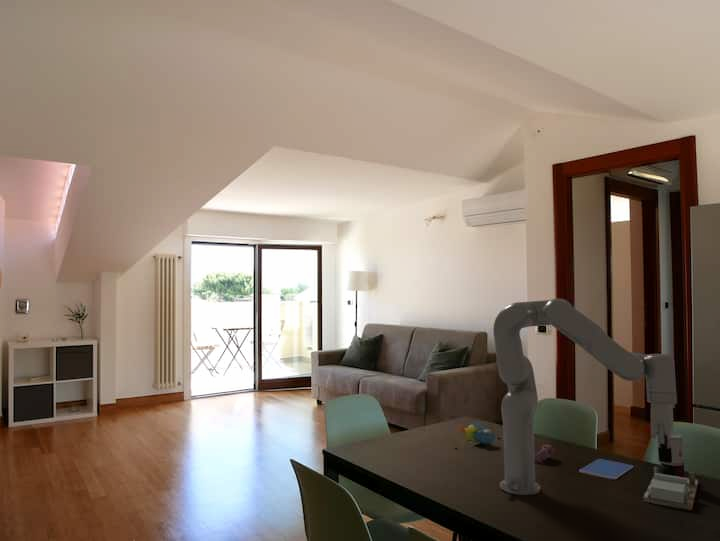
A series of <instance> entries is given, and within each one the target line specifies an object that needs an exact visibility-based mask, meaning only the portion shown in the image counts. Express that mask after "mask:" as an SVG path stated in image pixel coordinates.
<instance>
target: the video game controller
mask: <svg viewBox="0 0 720 541" xmlns="http://www.w3.org/2000/svg"><path fill="white" fill-rule="evenodd" d="M554 448H555V447H554V446H553V445H552V444H551V445H550V444H544V445H542V447H541V448H540V450H539V451H538V452H537V453H534V457H535V463H538V462H541V461H542V462H543V461H544V460H545V461H546V460H548V459H549V458H550V455H552V453H553V451H554ZM545 461H544V462H545Z"/></svg>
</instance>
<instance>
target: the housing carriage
mask: <svg viewBox="0 0 720 541" xmlns="http://www.w3.org/2000/svg"><path fill="white" fill-rule="evenodd" d="M653 474H654V473H653ZM653 476H654V481H653V483H652V485H651V498H656V499H661V500H666V501H672V502H677V503H683V504H684V500H685V497H686V478H687V477H685V478H683V477H677V476H671V475H664V474H661V473H660V474H658V473H655V474H654V475H653Z"/></svg>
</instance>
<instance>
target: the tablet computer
mask: <svg viewBox="0 0 720 541" xmlns="http://www.w3.org/2000/svg"><path fill="white" fill-rule="evenodd" d="M632 469H634V465H632V464H629V463H628V464H627V463H623V462H618V461H614V460H608V459H603V458H597V459H596V460H594V461H593V462H591V463H589V464H588V465H586V466H584V467H582V468H581V469H579V470H578V472H579V473H581V474H586V475H588V476H589V475H590V476H594V477H598V478H604V479H608V480H612V479H613V480H618V478H620V477H621V476H623V475H624V474H625V473H627V472H629V471H631V470H632Z"/></svg>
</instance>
